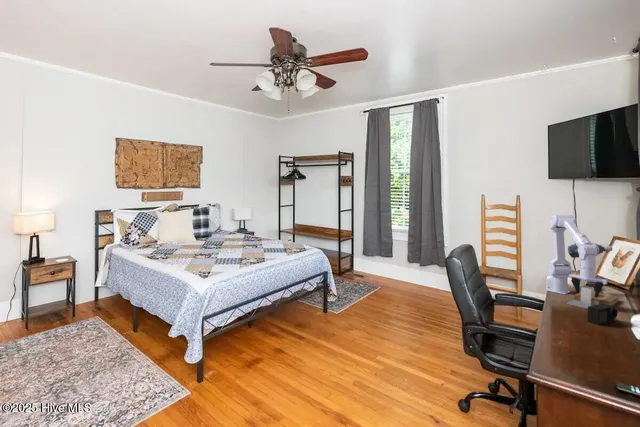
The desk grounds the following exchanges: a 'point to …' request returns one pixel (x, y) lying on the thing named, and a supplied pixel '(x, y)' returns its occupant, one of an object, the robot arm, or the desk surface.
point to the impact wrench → (574, 254)
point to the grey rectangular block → (587, 296)
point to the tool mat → (577, 304)
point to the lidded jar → (582, 282)
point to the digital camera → (601, 314)
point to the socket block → (601, 298)
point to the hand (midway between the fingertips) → (587, 295)
